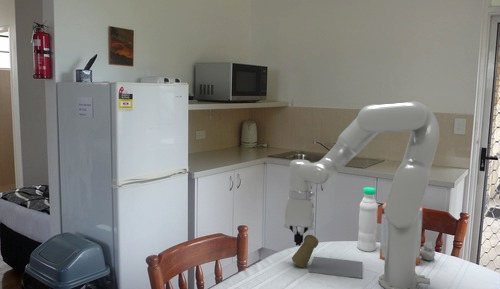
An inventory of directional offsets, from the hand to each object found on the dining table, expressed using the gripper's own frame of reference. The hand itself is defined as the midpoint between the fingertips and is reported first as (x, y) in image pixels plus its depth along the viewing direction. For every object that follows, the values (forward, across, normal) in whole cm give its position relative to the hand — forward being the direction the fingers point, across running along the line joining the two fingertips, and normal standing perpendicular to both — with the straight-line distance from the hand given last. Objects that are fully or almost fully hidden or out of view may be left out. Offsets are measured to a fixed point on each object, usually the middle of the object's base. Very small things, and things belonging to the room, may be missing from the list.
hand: (298, 244), depth 153 cm
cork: (+7, 0, 0) cm, 7 cm away
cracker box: (+8, -36, -16) cm, 41 cm away
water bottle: (+8, -24, -24) cm, 35 cm away
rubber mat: (+8, -14, -2) cm, 16 cm away
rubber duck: (+8, -46, -20) cm, 51 cm away
